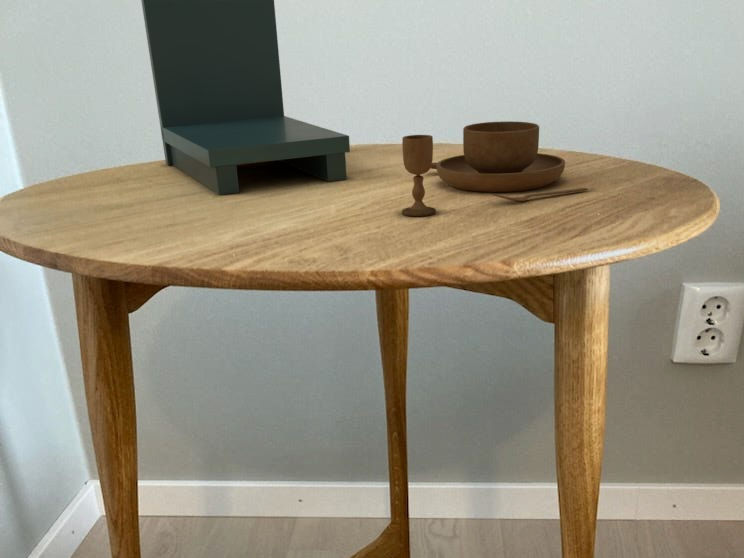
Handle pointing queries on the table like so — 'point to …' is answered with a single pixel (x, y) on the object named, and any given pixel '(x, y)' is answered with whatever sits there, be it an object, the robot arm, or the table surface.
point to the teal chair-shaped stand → (228, 93)
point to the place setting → (485, 162)
